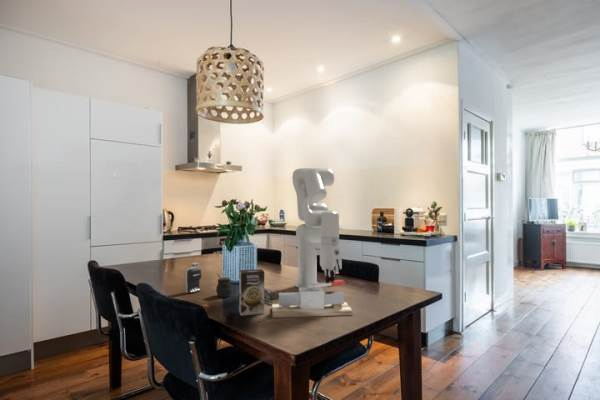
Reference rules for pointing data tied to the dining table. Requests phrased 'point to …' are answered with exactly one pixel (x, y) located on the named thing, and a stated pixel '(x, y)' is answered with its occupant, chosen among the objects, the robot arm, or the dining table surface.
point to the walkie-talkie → (269, 295)
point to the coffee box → (251, 292)
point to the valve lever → (327, 284)
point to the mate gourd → (224, 287)
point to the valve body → (311, 298)
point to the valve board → (311, 311)
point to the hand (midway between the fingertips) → (330, 285)
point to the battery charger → (193, 280)
